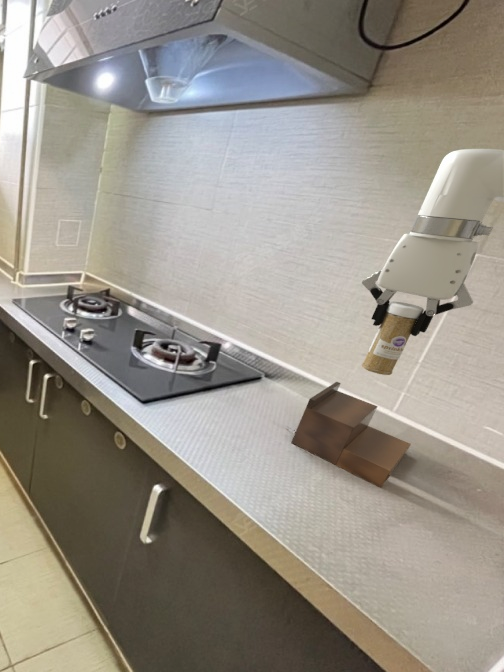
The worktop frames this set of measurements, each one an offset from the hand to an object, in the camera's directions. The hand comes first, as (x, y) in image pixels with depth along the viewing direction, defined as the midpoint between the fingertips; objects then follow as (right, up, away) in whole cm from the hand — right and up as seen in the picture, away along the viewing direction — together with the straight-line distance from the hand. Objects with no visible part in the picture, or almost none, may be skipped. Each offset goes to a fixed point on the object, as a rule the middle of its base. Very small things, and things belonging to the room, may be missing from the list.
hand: (395, 328), depth 72 cm
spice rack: (0, -26, +10) cm, 28 cm away
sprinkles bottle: (-1, -8, +3) cm, 9 cm away
